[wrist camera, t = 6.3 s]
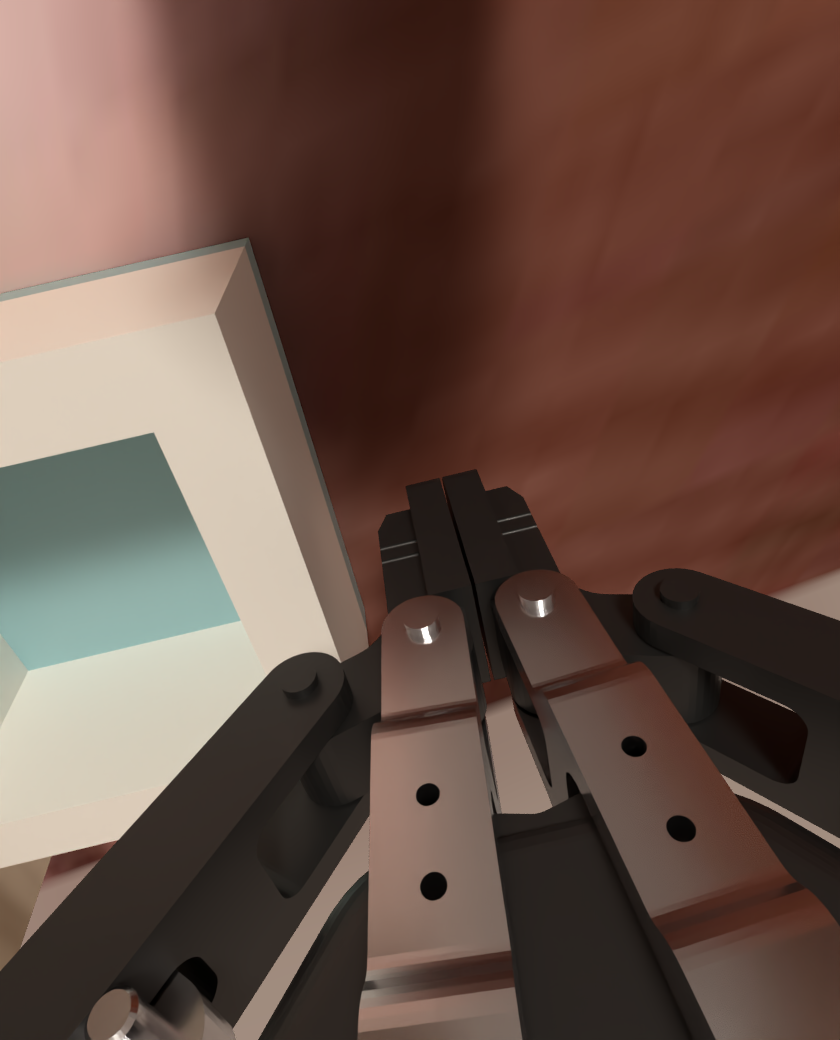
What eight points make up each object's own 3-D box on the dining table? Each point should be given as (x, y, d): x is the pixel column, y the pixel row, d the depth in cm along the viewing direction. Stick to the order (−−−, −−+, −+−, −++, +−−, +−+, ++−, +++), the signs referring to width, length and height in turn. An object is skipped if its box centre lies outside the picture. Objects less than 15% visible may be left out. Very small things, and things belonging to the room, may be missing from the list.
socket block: (248, 237, 14) (214, 313, 9) (364, 609, 20) (382, 776, 15) (-253, 351, 14) (-567, 491, 9) (17, 691, 20) (-80, 887, 15)
